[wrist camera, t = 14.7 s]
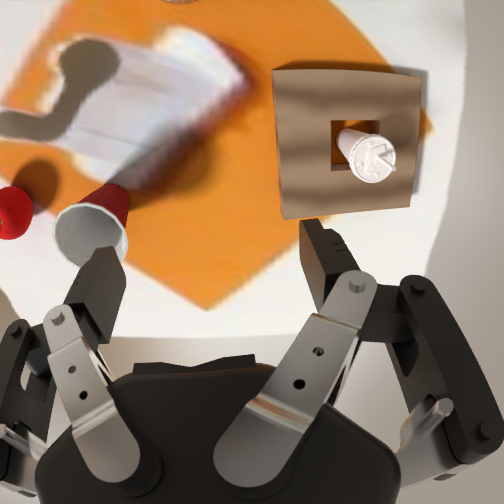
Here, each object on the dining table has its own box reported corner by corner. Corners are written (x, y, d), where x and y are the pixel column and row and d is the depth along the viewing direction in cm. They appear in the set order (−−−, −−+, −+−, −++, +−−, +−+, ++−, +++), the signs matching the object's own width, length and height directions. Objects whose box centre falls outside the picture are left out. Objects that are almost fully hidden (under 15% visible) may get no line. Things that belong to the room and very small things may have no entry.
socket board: (270, 70, 35) (274, 70, 33) (410, 75, 36) (421, 77, 33) (280, 210, 48) (284, 219, 46) (401, 199, 49) (409, 206, 46)
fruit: (32, 174, 39) (0, 201, 31) (46, 220, 44) (20, 253, 36) (-2, 182, 39) (-34, 209, 30) (11, 225, 44) (-15, 256, 36)
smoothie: (372, 132, 41) (422, 162, 30) (353, 166, 45) (395, 206, 33) (339, 112, 39) (385, 135, 28) (319, 148, 43) (356, 184, 31)
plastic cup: (130, 240, 49) (111, 287, 39) (76, 211, 44) (46, 253, 35) (157, 188, 44) (140, 229, 34) (98, 157, 40) (64, 189, 30)
